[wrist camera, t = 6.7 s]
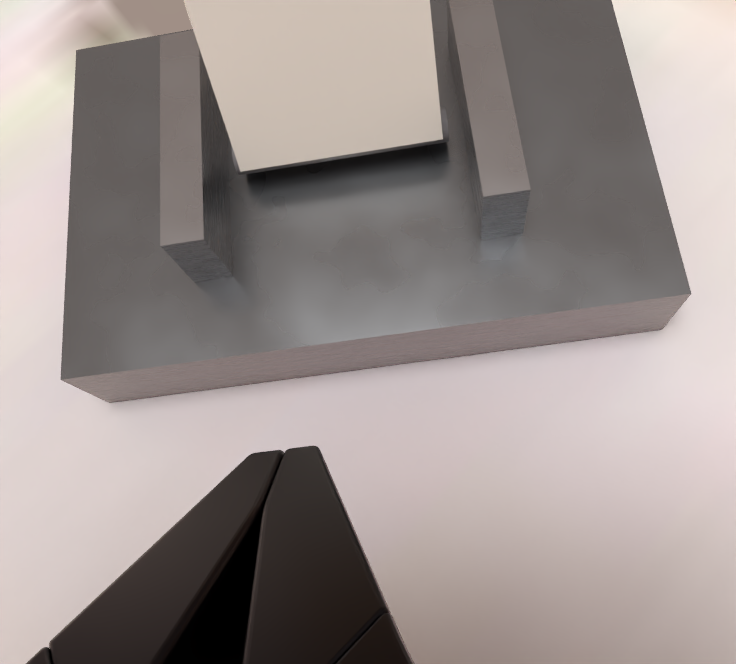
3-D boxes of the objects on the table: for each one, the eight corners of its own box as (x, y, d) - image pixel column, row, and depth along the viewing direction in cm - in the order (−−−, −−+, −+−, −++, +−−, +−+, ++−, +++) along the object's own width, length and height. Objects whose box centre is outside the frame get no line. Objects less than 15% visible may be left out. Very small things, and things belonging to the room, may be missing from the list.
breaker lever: (451, 156, 20) (420, -204, 15) (238, 189, 21) (124, -143, 15) (444, 124, 22) (413, -217, 16) (244, 156, 22) (141, -161, 16)
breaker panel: (662, 329, 22) (723, 254, 17) (109, 402, 23) (8, 355, 18) (584, 23, 26) (614, -114, 21) (116, 103, 27) (35, -5, 22)
